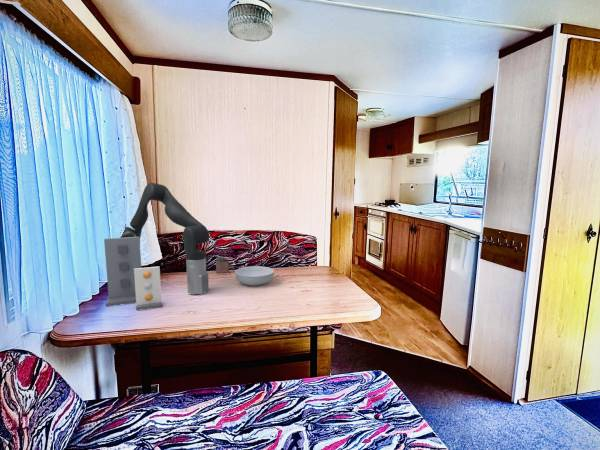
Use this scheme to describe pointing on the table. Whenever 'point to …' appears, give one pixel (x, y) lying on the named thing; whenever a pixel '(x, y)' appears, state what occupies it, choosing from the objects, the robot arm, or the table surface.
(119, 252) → the button top
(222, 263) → the lighter
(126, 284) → the button bottom
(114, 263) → the button panel
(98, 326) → the table surface
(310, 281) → the table surface
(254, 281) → the serving bowl
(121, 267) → the button middle
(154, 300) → the pattern card
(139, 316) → the table surface
